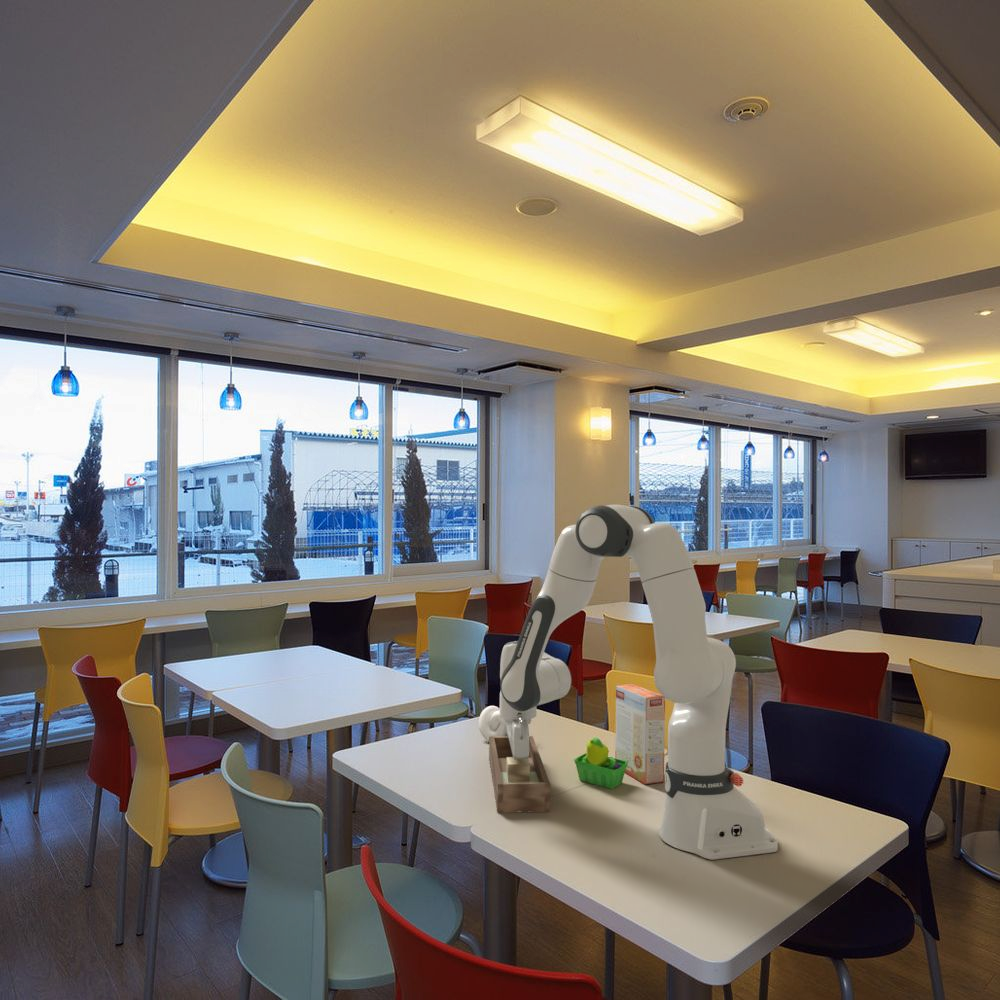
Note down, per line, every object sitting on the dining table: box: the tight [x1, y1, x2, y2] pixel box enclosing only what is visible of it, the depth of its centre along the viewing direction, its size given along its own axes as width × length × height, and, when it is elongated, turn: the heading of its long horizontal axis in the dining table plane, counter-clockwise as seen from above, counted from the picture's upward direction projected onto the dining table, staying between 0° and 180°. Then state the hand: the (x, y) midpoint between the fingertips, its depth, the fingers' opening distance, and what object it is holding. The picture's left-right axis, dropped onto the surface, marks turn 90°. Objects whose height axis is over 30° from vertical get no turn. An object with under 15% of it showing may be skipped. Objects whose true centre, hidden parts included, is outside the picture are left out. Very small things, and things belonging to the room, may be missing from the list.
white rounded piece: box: [478, 705, 508, 742], centre depth 209 cm, size 11×12×9 cm
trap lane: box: [488, 735, 551, 813], centre depth 174 cm, size 11×34×6 cm, turn 4°
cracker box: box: [614, 683, 666, 785], centre depth 182 cm, size 14×6×21 cm, turn 22°
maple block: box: [506, 757, 530, 782], centre depth 169 cm, size 5×5×4 cm
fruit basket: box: [573, 737, 628, 790], centre depth 176 cm, size 11×9×11 cm
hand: (517, 766), depth 174 cm, fingers closed
